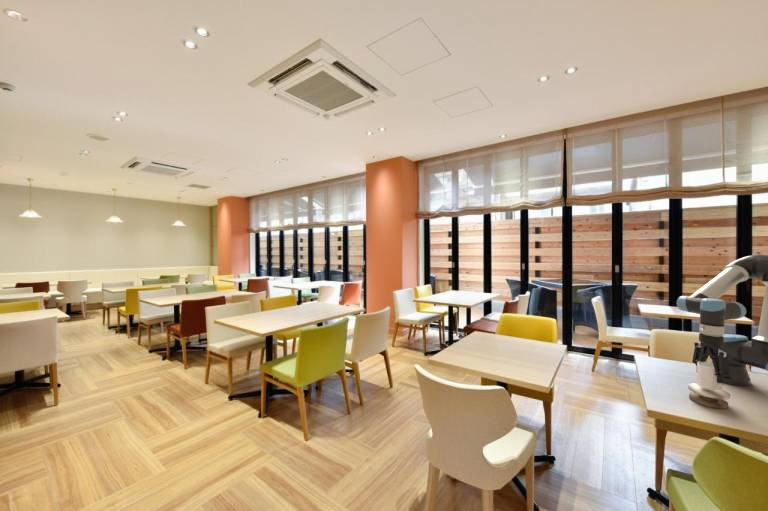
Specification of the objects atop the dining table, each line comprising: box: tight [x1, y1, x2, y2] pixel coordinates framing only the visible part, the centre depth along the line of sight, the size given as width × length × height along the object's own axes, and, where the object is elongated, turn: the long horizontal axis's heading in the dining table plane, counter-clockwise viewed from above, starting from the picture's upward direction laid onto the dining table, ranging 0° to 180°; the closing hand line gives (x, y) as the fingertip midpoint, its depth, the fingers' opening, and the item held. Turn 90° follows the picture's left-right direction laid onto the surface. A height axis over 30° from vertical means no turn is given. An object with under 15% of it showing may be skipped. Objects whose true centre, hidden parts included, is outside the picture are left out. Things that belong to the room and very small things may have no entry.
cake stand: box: [687, 382, 731, 410], centre depth 139 cm, size 13×13×6 cm
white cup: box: [696, 361, 720, 390], centre depth 138 cm, size 8×8×10 cm
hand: (708, 385), depth 139 cm, fingers closed on white cup, 7 cm apart
